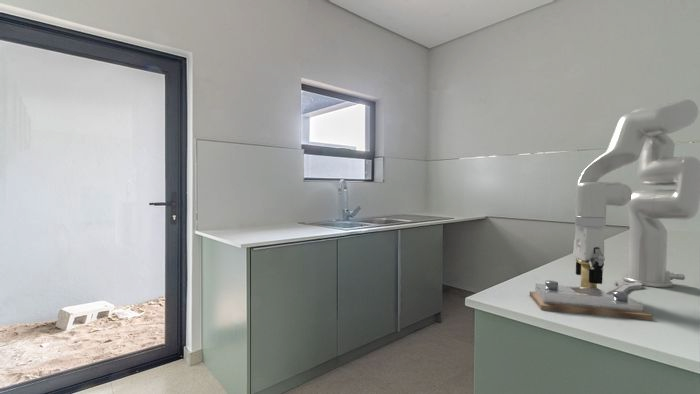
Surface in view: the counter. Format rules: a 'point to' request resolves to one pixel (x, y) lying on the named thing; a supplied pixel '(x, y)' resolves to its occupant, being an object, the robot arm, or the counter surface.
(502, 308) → the counter surface
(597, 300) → the metal plate with bolts
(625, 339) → the counter surface
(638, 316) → the board
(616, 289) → the adjustable wrench
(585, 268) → the bolt
